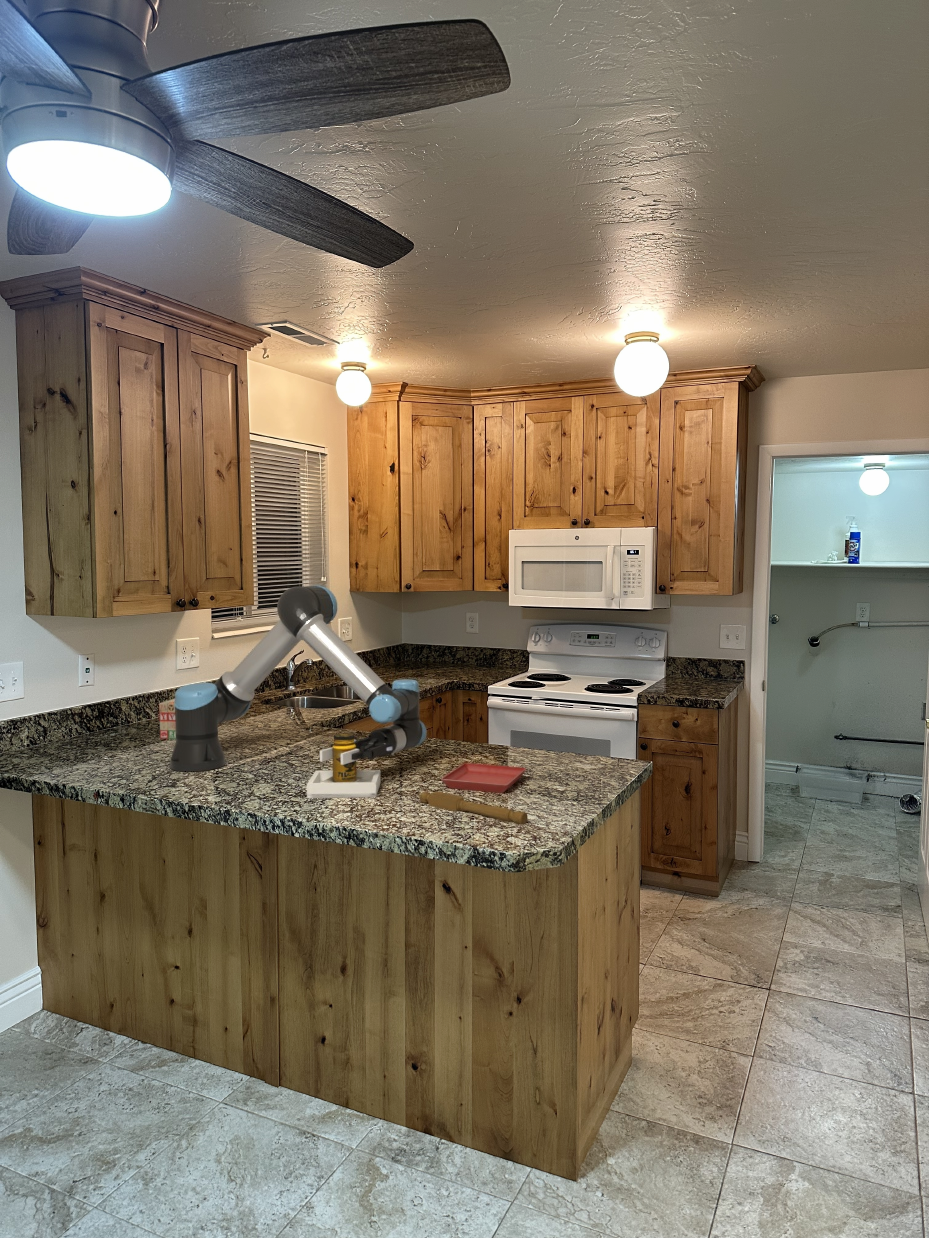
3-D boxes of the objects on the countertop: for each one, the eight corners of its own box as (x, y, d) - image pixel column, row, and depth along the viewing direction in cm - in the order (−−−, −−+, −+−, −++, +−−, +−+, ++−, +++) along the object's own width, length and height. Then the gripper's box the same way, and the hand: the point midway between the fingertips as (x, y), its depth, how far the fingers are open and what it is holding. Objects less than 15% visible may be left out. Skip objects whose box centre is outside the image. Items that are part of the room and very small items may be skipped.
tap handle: (520, 813, 182) (417, 791, 200) (520, 827, 182) (417, 803, 201) (528, 810, 184) (425, 788, 203) (528, 823, 185) (425, 801, 203)
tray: (307, 798, 205) (306, 784, 205) (316, 783, 219) (315, 770, 219) (376, 797, 206) (375, 783, 206) (380, 782, 220) (380, 769, 220)
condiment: (349, 785, 208) (349, 737, 207) (320, 782, 211) (319, 735, 210) (363, 778, 215) (362, 732, 214) (334, 775, 218) (333, 730, 217)
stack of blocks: (191, 727, 303) (190, 693, 302) (207, 727, 301) (206, 693, 301) (159, 738, 282) (158, 702, 281) (176, 739, 280) (175, 703, 280)
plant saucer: (507, 797, 207) (507, 783, 207) (439, 790, 213) (439, 778, 213) (527, 779, 224) (527, 767, 224) (464, 774, 230) (464, 762, 230)
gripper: (415, 758, 223) (361, 777, 203) (358, 751, 233) (302, 768, 213) (414, 730, 222) (361, 746, 203) (358, 724, 232) (302, 739, 212)
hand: (331, 757), depth 208 cm, fingers closed on condiment, 6 cm apart
